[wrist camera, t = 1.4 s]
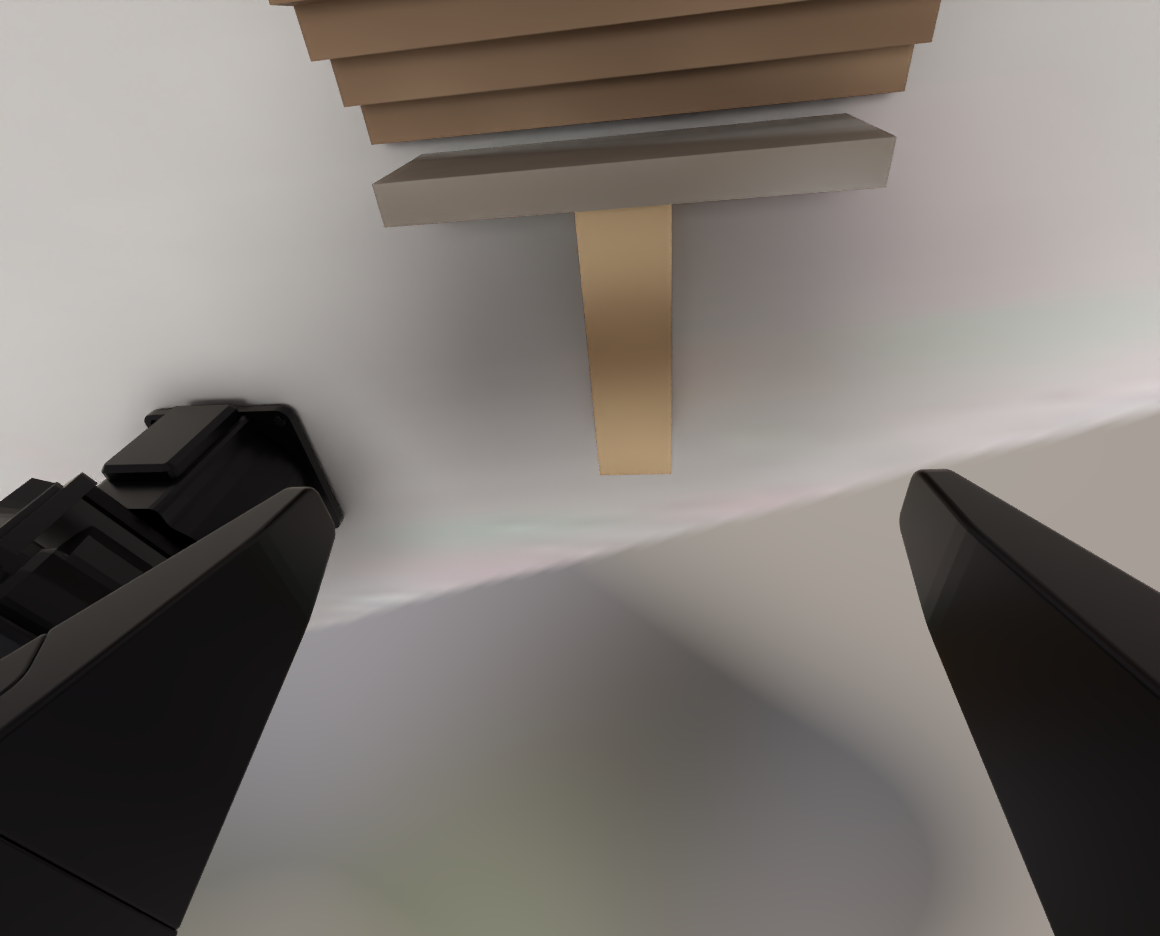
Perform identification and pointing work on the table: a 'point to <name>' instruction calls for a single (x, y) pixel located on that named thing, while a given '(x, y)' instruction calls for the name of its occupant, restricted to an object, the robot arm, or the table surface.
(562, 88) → the bench
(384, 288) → the table surface
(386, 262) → the table surface
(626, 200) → the scraper
